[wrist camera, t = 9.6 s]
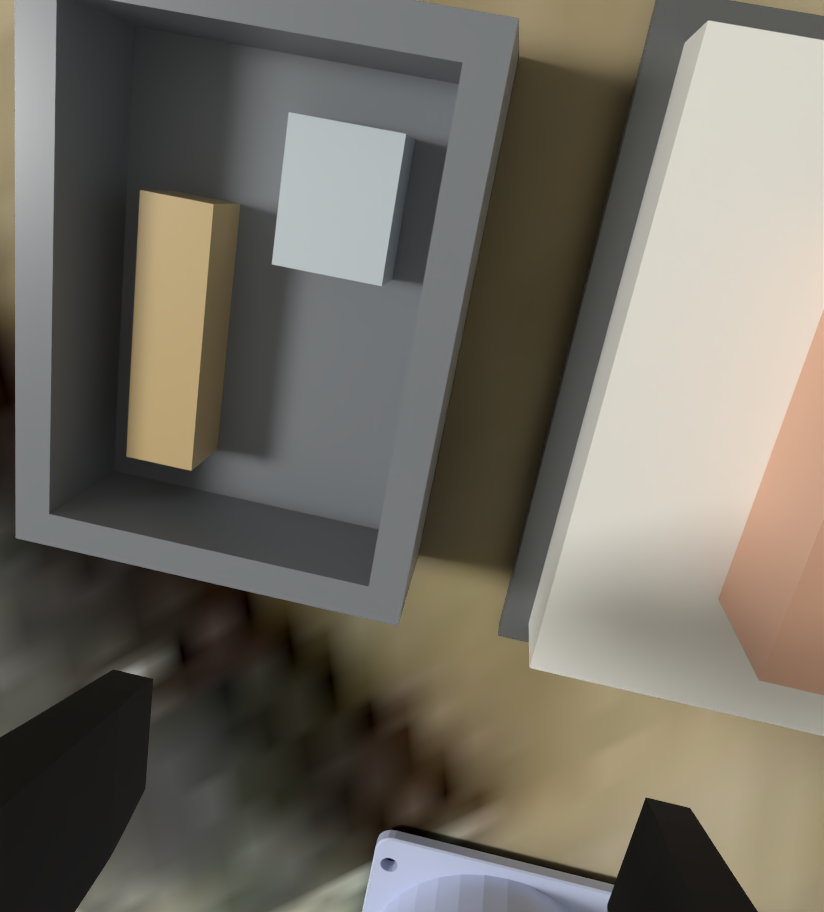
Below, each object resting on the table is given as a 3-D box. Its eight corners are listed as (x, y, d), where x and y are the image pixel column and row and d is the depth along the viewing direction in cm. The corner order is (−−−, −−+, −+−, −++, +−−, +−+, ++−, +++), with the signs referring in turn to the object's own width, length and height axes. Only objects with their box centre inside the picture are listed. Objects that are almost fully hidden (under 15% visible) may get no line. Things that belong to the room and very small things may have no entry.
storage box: (418, 556, 20) (397, 625, 17) (95, 484, 21) (15, 538, 17) (518, 55, 16) (518, 18, 13) (114, -16, 17) (14, -69, 13)
